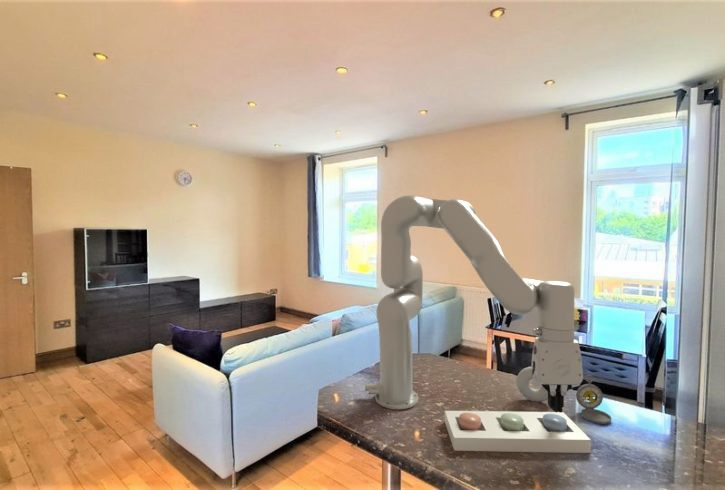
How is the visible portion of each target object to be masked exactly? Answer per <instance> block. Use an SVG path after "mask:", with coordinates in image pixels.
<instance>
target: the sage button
mask: <svg viewBox="0 0 725 490" xmlns="http://www.w3.org/2000/svg"><path fill="white" fill-rule="evenodd" d="M501 426H502V428H503V430H504V431H523V418H522V417H520V416H519V415H516V414H512V413H505V414H502V415H501Z"/></svg>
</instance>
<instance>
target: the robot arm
mask: <svg viewBox="0 0 725 490" xmlns="http://www.w3.org/2000/svg"><path fill="white" fill-rule="evenodd" d="M380 222H381V223H380V230H381V231H380V232H381V238H380V241H381V245H380V246H381V247H380V250H381V253H380V276H381V278H380V279H381V280H382V283H383V284H384V286H386V287H387V288H389V289H393V292H390V293H388V294H386V295H384V296H383V297H382V298H381V299H380V300H379V302H378V303H377V307H376V319H377V325H378V332H379V334H378V336H379V380H378V383H377V382H376V383H375V384H370V383H369V384H368V383H366V384H364V386H365V387H364V391H365V392H368V394H369V395H374V400H375V402H376V403H377V404H378V405H380V406H381V407H383V408H386V409H390V410H405V409H406V410H407V409H410V408H413V407H414V406H416V405H417V404H418V402H419V395H418V393H417V392H416V391H415V390H413V337H412V331H411V325H410V321H411V320H412V319H414V318H415V317H416V316H417V315H419V313H420V312H421V310H422V306H423V285H424V284H423V277H424V275H423V267H422V264H421V262H420V261H419V259H418V258H417V257H416V256H414V255H412V254H411V252H412V251H411V248H412V247H411V246H412V241H411V240H412V239H411V235H410V228H411V227H428V228H434V229H435V228H436V229H441V230H442V229H443V230H444V232H446V233H447V234H448V236H449V237H450V238H451V239H452V240H453V242H454V243H455V244H456V246H457V247H458V248H459V249H460V250H461V251H462V253H463V254H464V255H465V257H467V259H468V260H469V262H470V263H471V266H472V267H473V269H474V270H475V272H476V274H477V275H478V276H479V278H480V279H481V281H482V282H483V284H484V286H485V287H486V288H487V290H488V291H489V292H490V293H491V294H492V296H493V297H494V298H495V299H496V300H497V301H498V303H499V304H500V305H501V307H503V309H505V310H506V311H508V313H511V314H513V315H517V316H521V315H522V316H524V315H527V314H528V313H531V312H532V311H533V310H534V309H535V308H537V311H538V312H537V315H538V316H537V319H538V320H537V328H533V329H532V330H531V331H532V334H533V335H536V336H535V339H534V343H533V348H532V354H531V367H532V375H533V378H532V379H531V384H533V385H534V386H535V387H539V388H541V387H543V388H545V389H546V390H547V391H548V400H547V406H548V407H549V408H550V409H551V410H552V412H563V408H564V406H565V405H564V404H565V398H564V397H566V395H567V393H568V391H569V390H570V389H571V388H575V387H580V386H581V384H582V382H583V379H584V374H583V373H584V371H583V360H582V353H581V348H580V344H579V341H578V340H577V339H575V287H574V285H573V284H572V283H571V282H570V283H569V282H567V281H562V280H547V281H543V280H537V279H531V278H525V277H521V276H520V275H519V274H518V273H517V272H516V270H515V269H514V268H513V267H512V266H511V264H510V263H509V261H508V260H507V258H506V257H505V255H504V253H503V251H502V247H501V245H500V243H499V241H498V239H497V238H496V237H495V235H494V234H493V233H492V232H491V231H490V230H489V229H488V228H487V227H486V225H485V224H484V223H483V222H482V221H481V220H480V218H479V217H478V216H477V214H476V209H475V208H474V206H473V205H472V204H471V203H469V202H468V201H466V200H461V199H458V198H454V199H449V200H446V199H437V198H436V199H435V198H429V197H422V196H419V195H412V194H411V195H410V194H409V195H403V196H400V197H398V198H396V199H394V200H393V201H391V202H390V203H389V204H388V205H387V207H386V208H385V209H384V212H383V214H382V218H381V221H380Z"/></svg>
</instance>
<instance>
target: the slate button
mask: <svg viewBox="0 0 725 490" xmlns="http://www.w3.org/2000/svg"><path fill="white" fill-rule="evenodd" d="M543 426H544V428H545V429H547V431H548V432H566V431H567V421H566V419H565V418H563V417H562V416H559V415H556V414H545V415H543Z"/></svg>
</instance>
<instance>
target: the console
mask: <svg viewBox="0 0 725 490" xmlns="http://www.w3.org/2000/svg"><path fill="white" fill-rule="evenodd" d="M462 413H473V414H476V415H478V416H479V417H480V418H481V429H480V430H479V431H471V430H463V429H462V428H461V427H460V426H459V416H460V414H462ZM505 413H512V414H516V415H519V416H520V417H522V418H523V431H507V430H504V429H503V428H502V426H501V415H502V414H505ZM545 414H556V415H559V416H562V417H563V418H565V419H566V421H567V431H566V432H551V431H549V430H547V429H545V428H544V426H543V415H545ZM444 424H445V427H446V430H447V433H448V437H449V439H450V442H451V444H452V448H453V451H455V452H456V451H458V452H460V451H461V452H463V451H465V452H468V451H469V452H508V453H509V452H515V453H517V452H518V453H522V452H523V453H568V454H569V453H572V454H579V453H580V454H585V453H586V454H591V453H592V452H591V451H592V450H591V449H592V447H591V446H592V445H591V444H592V440H591V438H590V437H588V436H587V434H586V433H585V432H584V431H583V430H582V429H581V428H580V427H578V425H576V423H575V422H574V421H573V420H572V419H571V418H570V417H569V416H568V415H567V414H566V413H565V412H564V411H562V412H554V411H505V410H504V411H503V410H502V411H501V410H500V411H498V410H495V411H494V410H493V411H491V410H489V411H488V410H444Z"/></svg>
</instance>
